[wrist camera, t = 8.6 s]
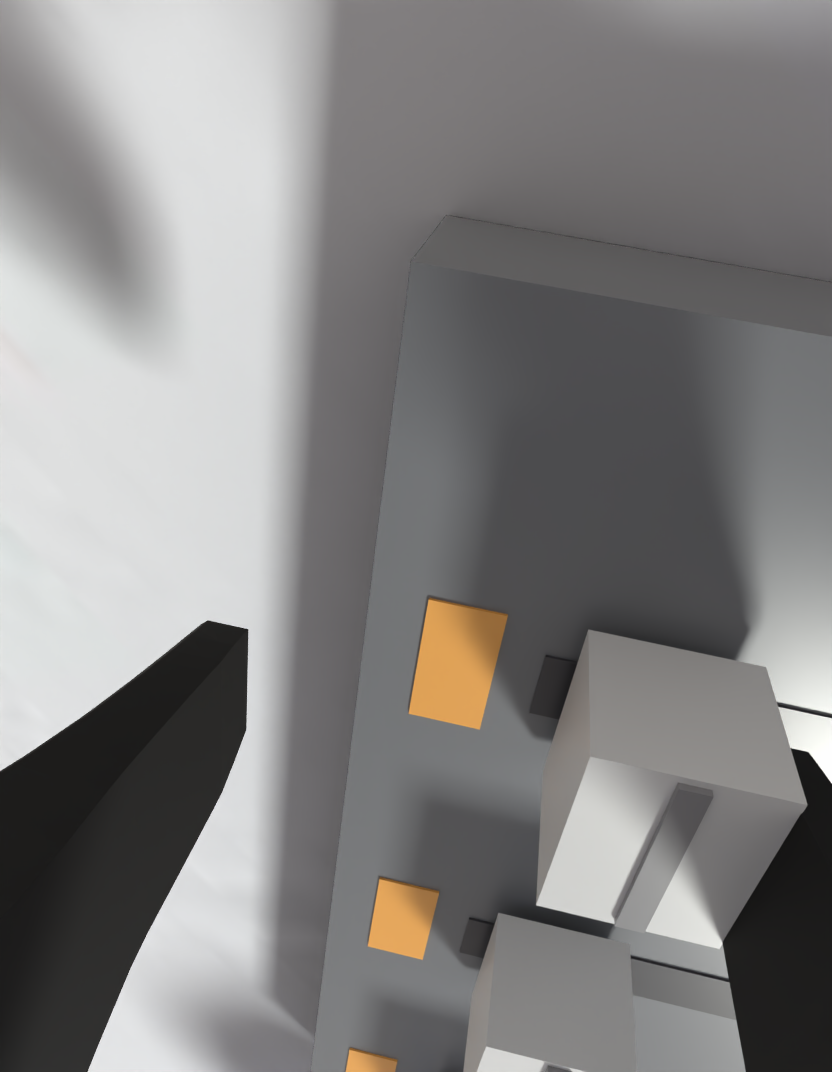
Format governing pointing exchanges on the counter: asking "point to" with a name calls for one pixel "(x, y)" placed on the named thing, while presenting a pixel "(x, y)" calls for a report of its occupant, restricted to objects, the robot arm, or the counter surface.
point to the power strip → (564, 598)
